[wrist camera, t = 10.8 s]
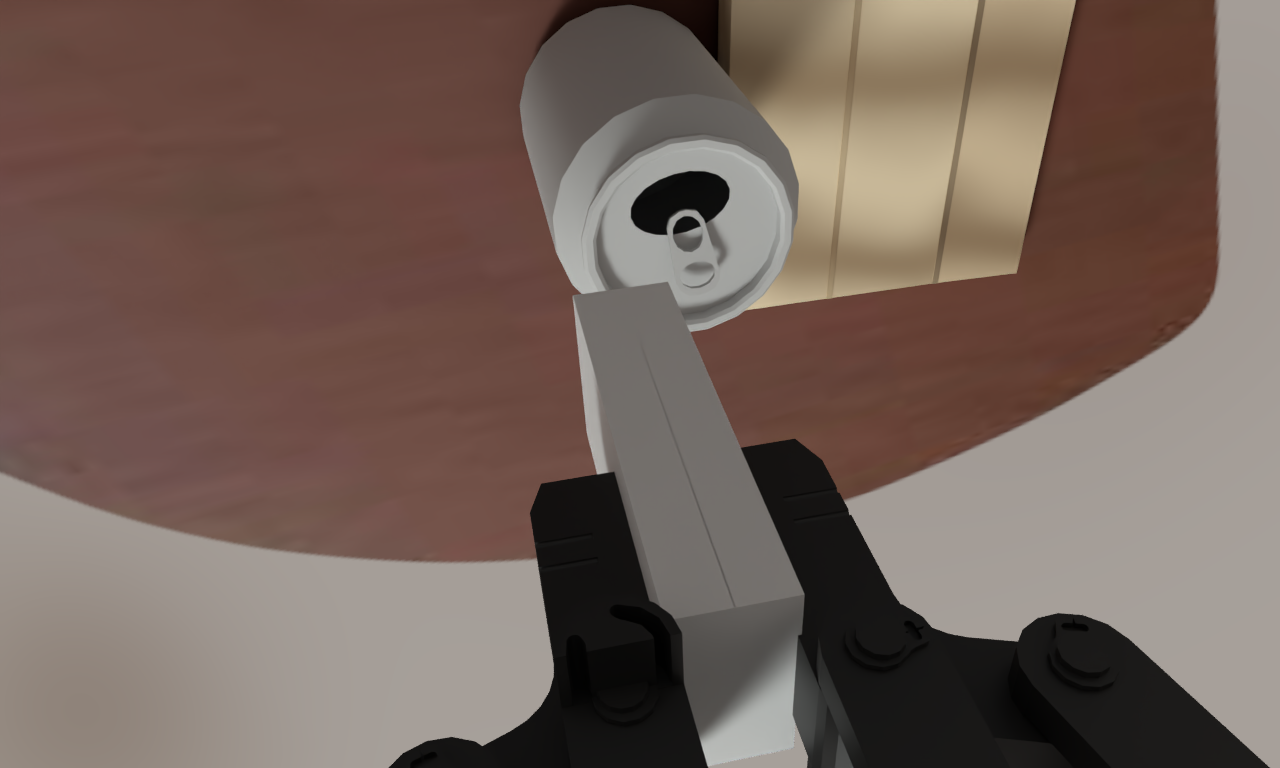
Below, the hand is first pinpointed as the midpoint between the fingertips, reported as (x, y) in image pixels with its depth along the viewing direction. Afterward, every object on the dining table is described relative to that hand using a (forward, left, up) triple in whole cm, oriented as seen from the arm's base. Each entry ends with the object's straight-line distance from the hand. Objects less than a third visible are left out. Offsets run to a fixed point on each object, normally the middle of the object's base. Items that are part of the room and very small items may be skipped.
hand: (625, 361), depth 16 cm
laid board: (+3, +19, -24) cm, 31 cm away
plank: (+3, +13, -23) cm, 27 cm away
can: (+4, +4, -24) cm, 24 cm away
